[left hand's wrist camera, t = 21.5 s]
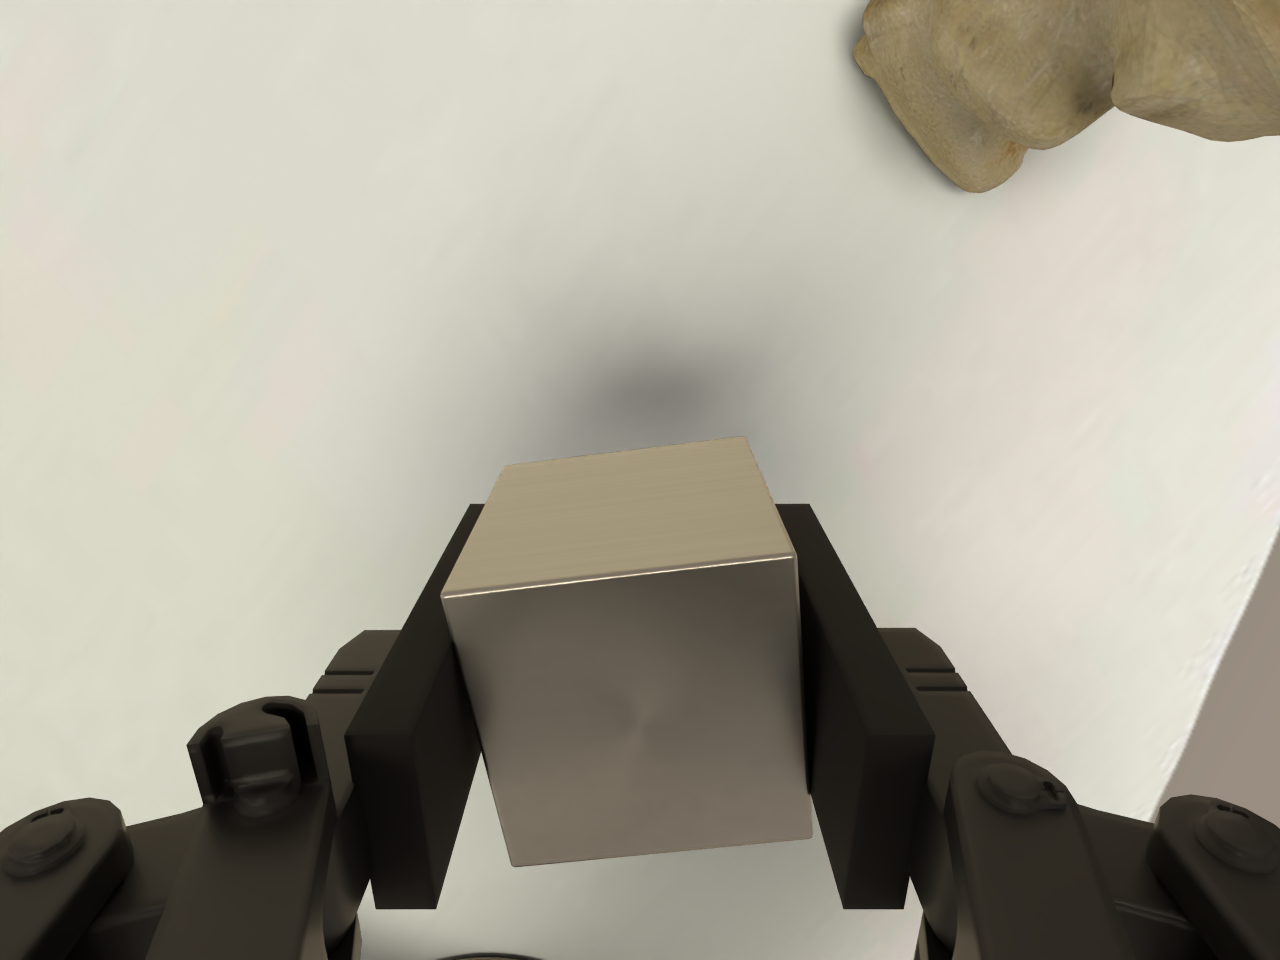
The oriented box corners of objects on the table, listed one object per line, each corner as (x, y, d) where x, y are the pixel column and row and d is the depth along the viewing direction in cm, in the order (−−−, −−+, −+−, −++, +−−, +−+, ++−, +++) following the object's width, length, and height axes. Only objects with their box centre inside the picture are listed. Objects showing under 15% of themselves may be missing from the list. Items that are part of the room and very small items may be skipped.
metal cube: (745, 434, 14) (797, 552, 9) (763, 651, 16) (814, 841, 11) (503, 464, 14) (437, 594, 10) (548, 675, 16) (510, 869, 11)
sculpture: (940, 224, 26) (1307, 254, 12) (803, 62, 24) (1042, -135, 10) (1080, 90, 24) (1698, -63, 10) (946, -94, 22) (1473, -594, 8)
